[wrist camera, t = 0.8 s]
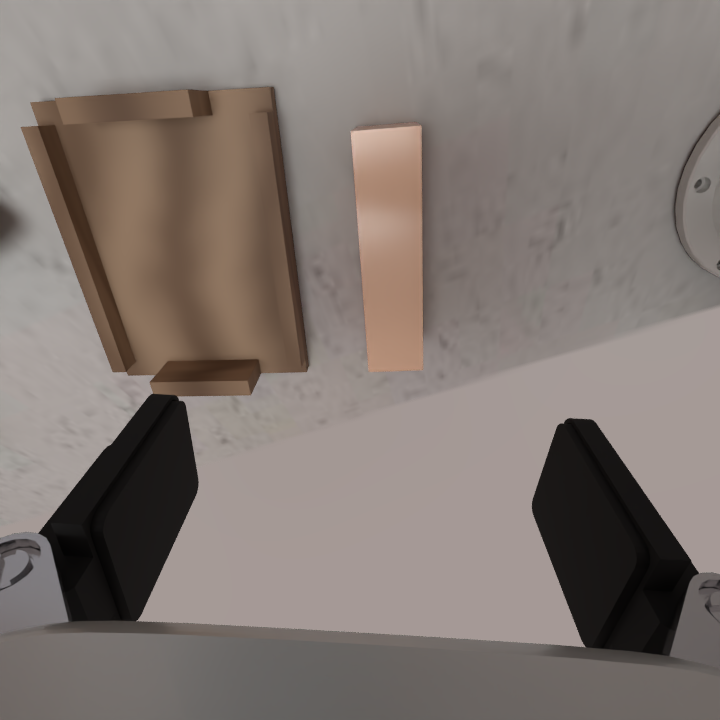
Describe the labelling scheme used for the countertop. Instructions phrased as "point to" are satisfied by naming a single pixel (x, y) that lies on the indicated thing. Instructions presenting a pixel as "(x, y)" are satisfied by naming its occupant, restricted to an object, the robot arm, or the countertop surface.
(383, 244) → the clay block
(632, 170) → the countertop surface
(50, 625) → the robot arm
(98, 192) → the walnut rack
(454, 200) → the countertop surface
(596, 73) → the countertop surface
